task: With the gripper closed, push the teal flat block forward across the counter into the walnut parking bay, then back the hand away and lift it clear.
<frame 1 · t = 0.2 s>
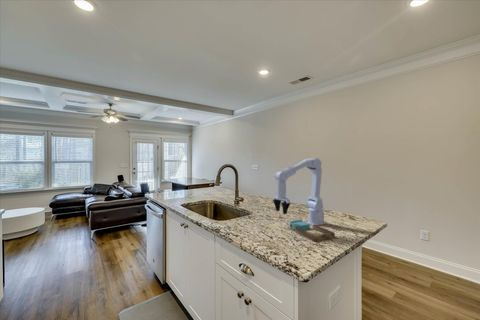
hand: (281, 212, 129), 10 cm above the worktop, fingers open, 7 cm apart
dock: (313, 234, 119), on the worktop
teal flat block: (299, 227, 130), on the worktop
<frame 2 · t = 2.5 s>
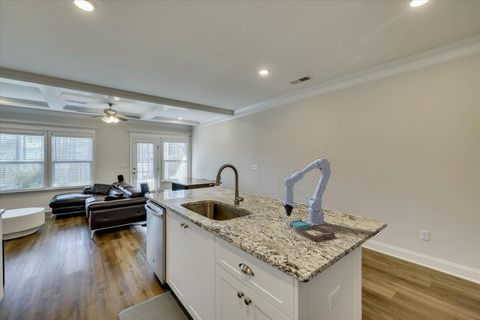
hand: (288, 215, 140), 5 cm above the worktop, fingers closed
nothing on the worktop moved.
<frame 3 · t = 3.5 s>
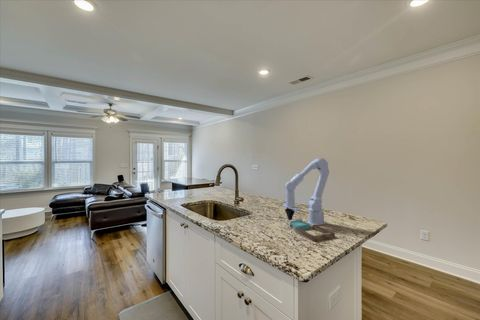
hand: (290, 219, 139), 2 cm above the worktop, fingers closed
nothing on the worktop moved.
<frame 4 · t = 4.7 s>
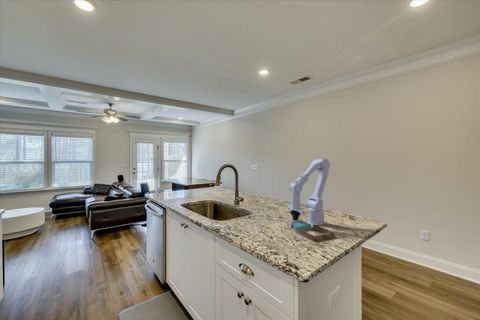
hand: (295, 222, 134), 2 cm above the worktop, fingers closed
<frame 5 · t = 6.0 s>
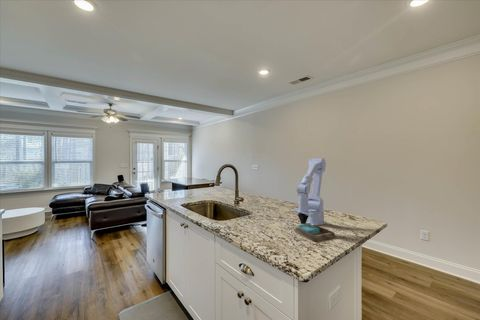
hand: (303, 225, 127), 2 cm above the worktop, fingers closed
teal flat block: (308, 232, 122), on the worktop, touching gripper
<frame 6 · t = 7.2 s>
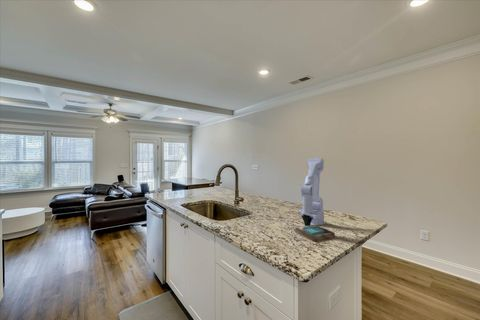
hand: (307, 227, 123), 2 cm above the worktop, fingers closed
teal flat block: (313, 234, 119), on the worktop, touching gripper
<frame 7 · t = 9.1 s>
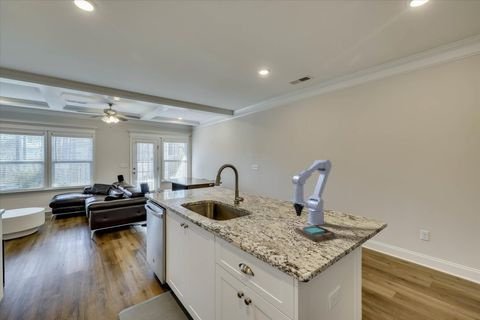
hand: (298, 215, 131), 7 cm above the worktop, fingers closed
teal flat block: (313, 234, 119), on the worktop
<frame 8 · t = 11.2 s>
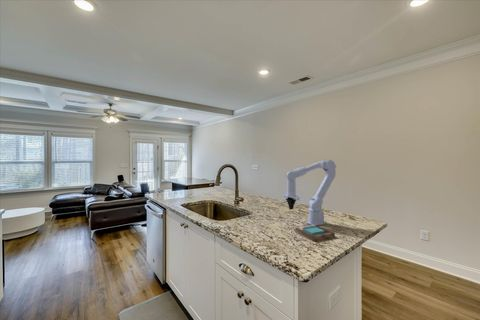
hand: (291, 209, 139), 9 cm above the worktop, fingers closed
nothing on the worktop moved.
at the end: teal flat block inside the target area (0.3 cm from its centre), on the worktop; teal flat block tilted 0°; the gripper is holding nothing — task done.
